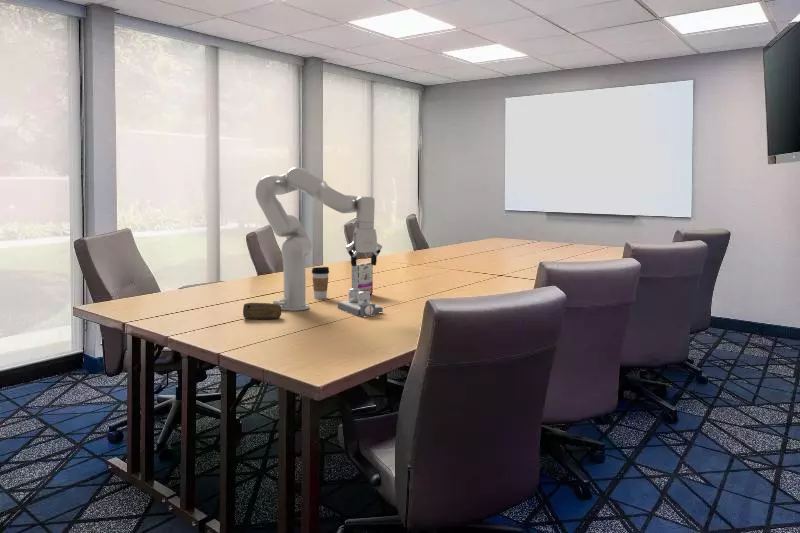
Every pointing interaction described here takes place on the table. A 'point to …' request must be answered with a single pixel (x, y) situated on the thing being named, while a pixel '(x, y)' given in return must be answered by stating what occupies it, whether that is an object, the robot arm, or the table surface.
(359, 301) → the cylinder
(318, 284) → the coffee cup
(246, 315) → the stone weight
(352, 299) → the cylinder
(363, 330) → the table surface
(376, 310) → the scale
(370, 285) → the candy bar box
